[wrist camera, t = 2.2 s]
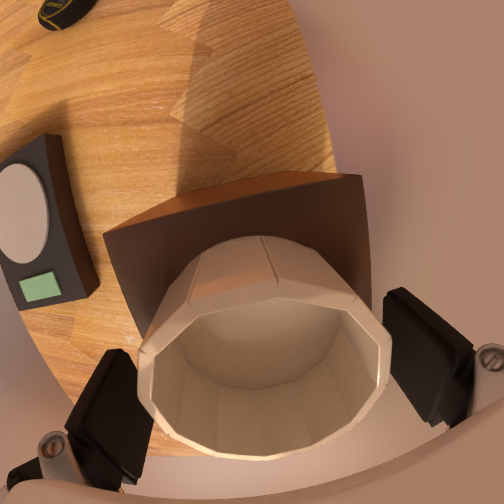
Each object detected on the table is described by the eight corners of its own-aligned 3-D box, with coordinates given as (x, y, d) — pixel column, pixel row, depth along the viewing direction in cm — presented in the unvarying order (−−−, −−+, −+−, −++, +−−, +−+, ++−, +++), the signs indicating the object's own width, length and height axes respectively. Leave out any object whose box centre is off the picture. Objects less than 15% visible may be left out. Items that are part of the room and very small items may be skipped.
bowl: (184, 212, 9) (148, 245, 5) (369, 261, 10) (431, 310, 6) (158, 369, 11) (138, 441, 7) (306, 394, 12) (326, 460, 8)
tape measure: (111, -5, 15) (99, -21, 11) (69, 40, 16) (52, 29, 13) (79, -14, 13) (67, -26, 10) (42, 28, 15) (26, 19, 11)
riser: (175, 196, 22) (101, 234, 9) (288, 170, 22) (362, 174, 9) (204, 299, 25) (183, 414, 12) (306, 276, 25) (369, 375, 12)
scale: (-4, 177, 20) (-22, 180, 16) (61, 134, 20) (41, 132, 16) (31, 300, 24) (16, 313, 21) (100, 285, 24) (86, 300, 21)
